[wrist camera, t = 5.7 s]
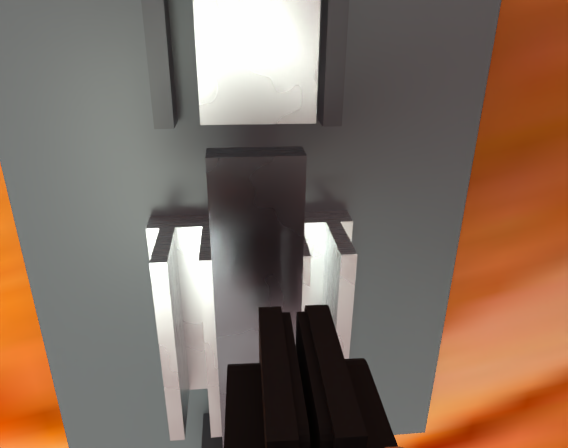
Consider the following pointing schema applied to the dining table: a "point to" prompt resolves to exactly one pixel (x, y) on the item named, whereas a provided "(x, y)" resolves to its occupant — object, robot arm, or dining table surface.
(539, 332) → the dining table surface
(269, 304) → the silver metal bar
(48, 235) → the socket board
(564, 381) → the dining table surface
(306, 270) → the heatsink
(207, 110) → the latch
